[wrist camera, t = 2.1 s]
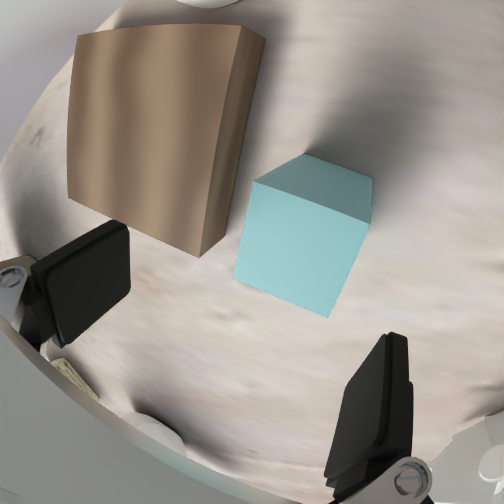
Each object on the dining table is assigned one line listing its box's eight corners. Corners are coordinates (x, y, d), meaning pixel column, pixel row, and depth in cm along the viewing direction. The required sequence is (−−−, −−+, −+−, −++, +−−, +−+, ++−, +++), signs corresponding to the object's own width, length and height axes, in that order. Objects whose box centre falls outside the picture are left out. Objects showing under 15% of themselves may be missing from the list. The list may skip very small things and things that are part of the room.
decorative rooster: (115, 396, 54) (47, 470, 34) (155, 401, 46) (73, 500, 25) (182, 461, 60) (132, 531, 39) (229, 472, 51) (176, 557, 31)
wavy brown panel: (265, 39, 17) (241, 25, 13) (224, 236, 25) (199, 258, 22) (109, 37, 20) (77, 35, 17) (96, 186, 29) (68, 197, 25)
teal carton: (372, 178, 18) (370, 224, 11) (349, 242, 21) (327, 318, 14) (303, 153, 20) (252, 181, 12) (285, 217, 22) (232, 277, 15)
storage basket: (64, 352, 58) (24, 388, 46) (107, 402, 60) (71, 441, 48) (47, 360, 71) (16, 387, 59) (80, 400, 73) (52, 428, 61)
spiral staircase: (517, 366, 22) (508, 455, 25) (396, 453, 24) (422, 512, 28) (604, 447, 4) (550, 517, 8) (446, 579, 6) (449, 585, 10)
